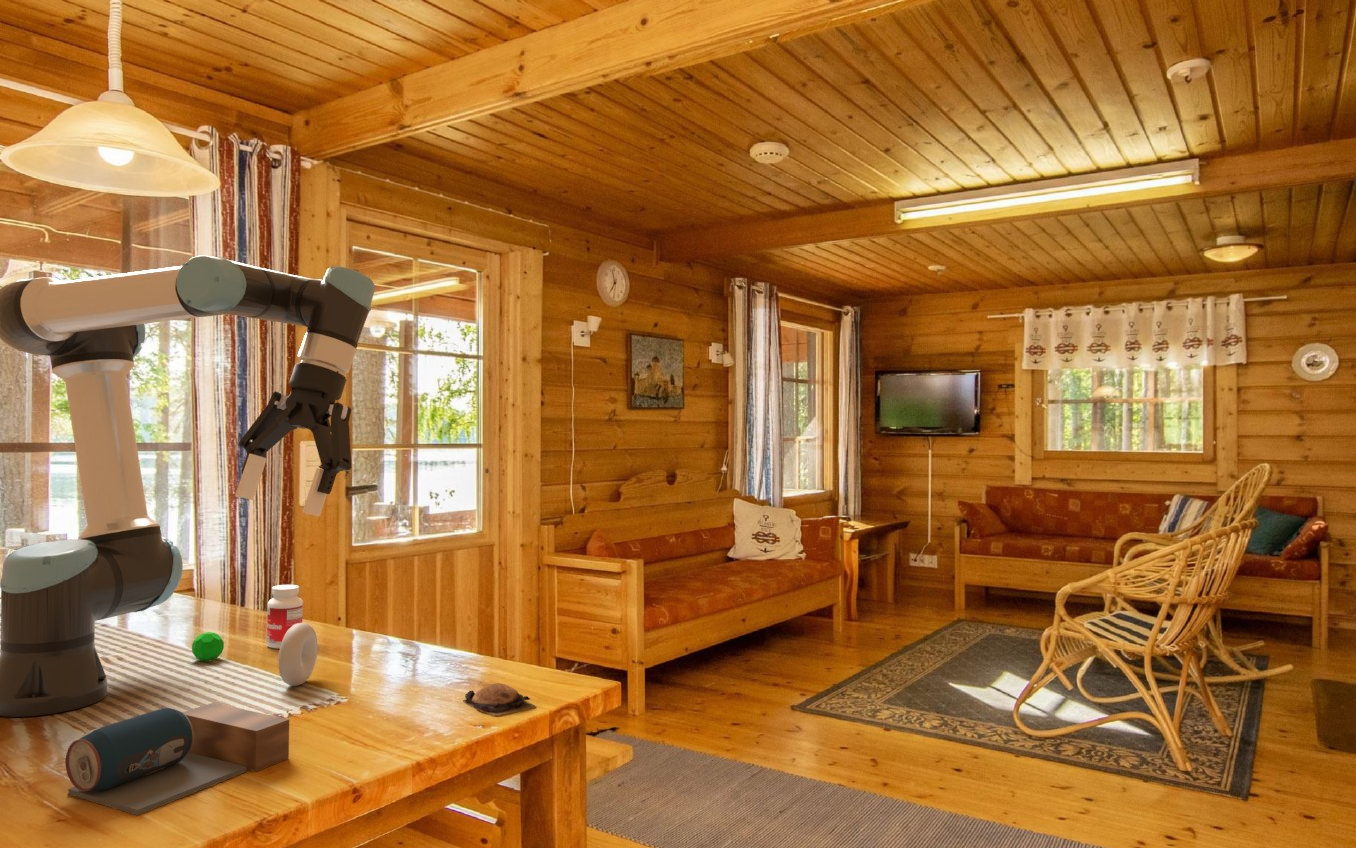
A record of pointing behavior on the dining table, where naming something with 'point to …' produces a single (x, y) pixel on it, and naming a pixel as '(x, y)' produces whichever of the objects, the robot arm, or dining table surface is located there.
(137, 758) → the soda can
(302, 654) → the donut
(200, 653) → the polyhedron
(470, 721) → the dining table surface
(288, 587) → the pill bottle
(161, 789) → the charcoal mat
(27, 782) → the dining table surface
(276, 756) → the walnut block
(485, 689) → the brown domed piece
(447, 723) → the dining table surface
